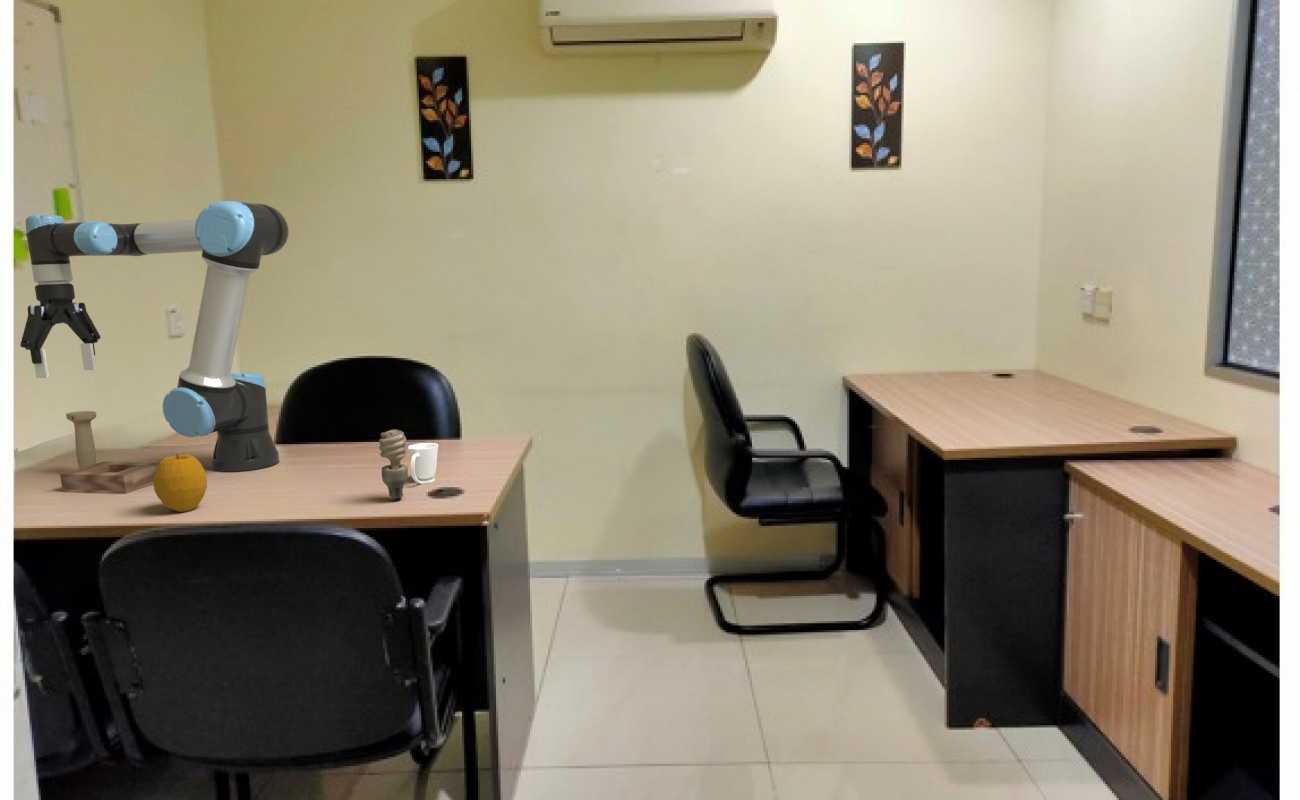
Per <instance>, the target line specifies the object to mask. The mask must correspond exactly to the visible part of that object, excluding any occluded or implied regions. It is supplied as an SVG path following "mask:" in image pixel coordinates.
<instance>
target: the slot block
mask: <svg viewBox="0 0 1300 800" xmlns="http://www.w3.org/2000/svg"><path fill="white" fill-rule="evenodd" d="M159 463H160V462H135V461H134V462H133V461H128V462H127V461H122V462H121V461H100V462H96V464H93V465H89V466H86V467H82V468H79V467H78V468H76V469H73V470H70V471H69V470H68V471H67V472H63V473H60V474H59V476H60V483H61V491H62V492H63V493H64V492H66V493H68V492H69V493H71V492H72V493H94V494H95V493H97V494H98V493H99V494H128V493H132V492H135V491H136V490H139V489H143V488H146V487H148V486H151V485H154V484H153V480H154V474H155V471H156V468H157V466H158V465H159Z"/></svg>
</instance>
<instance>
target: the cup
mask: <svg viewBox="0 0 1300 800" xmlns="http://www.w3.org/2000/svg"><path fill="white" fill-rule="evenodd" d="M407 449H408V453H409V458H410V474H411V477H412V480H414V482H415V483H417V484H420V485H421V484H429V483H433V482H435V480H436V479H435V476H436V471H437V465H438V464H437V463H438V453H439V443H434V442H423V443H415V444H410V445H408V448H407Z"/></svg>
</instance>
